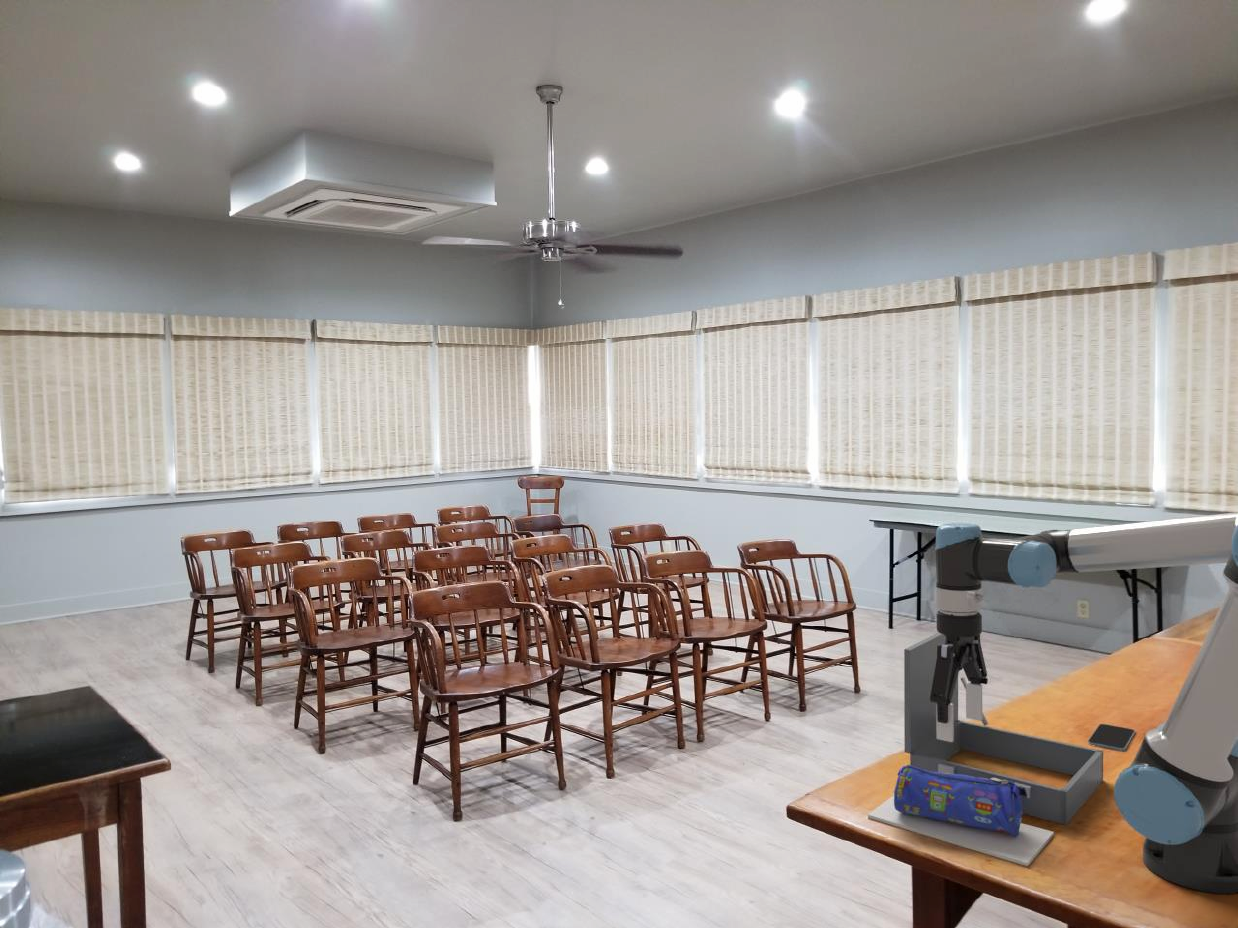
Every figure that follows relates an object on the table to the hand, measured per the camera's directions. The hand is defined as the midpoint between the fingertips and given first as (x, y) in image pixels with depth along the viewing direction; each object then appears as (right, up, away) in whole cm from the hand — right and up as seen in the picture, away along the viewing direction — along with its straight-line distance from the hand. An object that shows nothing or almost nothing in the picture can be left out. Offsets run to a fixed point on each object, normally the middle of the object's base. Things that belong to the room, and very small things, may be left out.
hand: (960, 729), depth 160 cm
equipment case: (+17, -16, +20) cm, 31 cm away
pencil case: (0, -17, +1) cm, 17 cm away
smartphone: (+50, -15, +42) cm, 67 cm away
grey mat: (0, -18, +1) cm, 18 cm away
